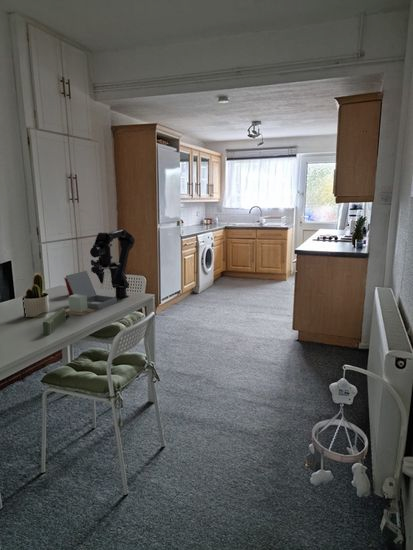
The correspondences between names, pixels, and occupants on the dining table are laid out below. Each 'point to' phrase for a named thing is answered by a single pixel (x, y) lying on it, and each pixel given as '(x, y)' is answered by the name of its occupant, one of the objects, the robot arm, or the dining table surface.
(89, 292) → the equipment case
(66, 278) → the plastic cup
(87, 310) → the board
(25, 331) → the dining table surface
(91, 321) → the dining table surface
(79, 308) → the block
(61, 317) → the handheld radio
